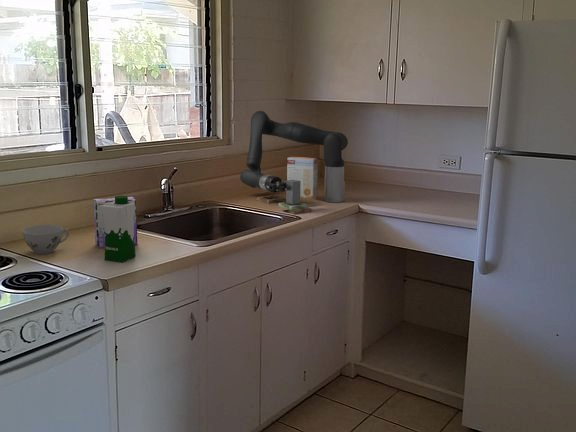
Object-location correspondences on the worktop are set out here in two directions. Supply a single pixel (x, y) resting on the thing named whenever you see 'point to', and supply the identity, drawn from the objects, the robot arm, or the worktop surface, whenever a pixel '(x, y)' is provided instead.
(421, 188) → the worktop surface
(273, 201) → the olive flat piece
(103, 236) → the candy box
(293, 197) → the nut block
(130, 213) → the milk carton
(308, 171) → the cracker box
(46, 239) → the teacup
